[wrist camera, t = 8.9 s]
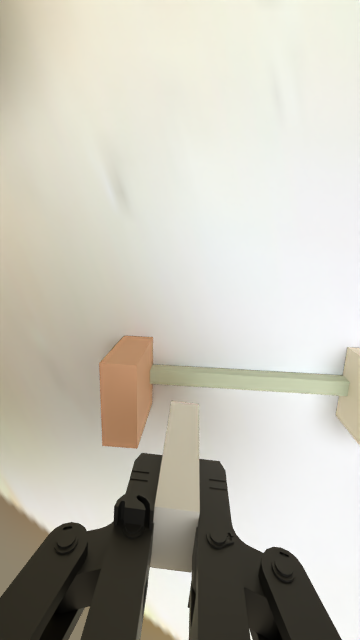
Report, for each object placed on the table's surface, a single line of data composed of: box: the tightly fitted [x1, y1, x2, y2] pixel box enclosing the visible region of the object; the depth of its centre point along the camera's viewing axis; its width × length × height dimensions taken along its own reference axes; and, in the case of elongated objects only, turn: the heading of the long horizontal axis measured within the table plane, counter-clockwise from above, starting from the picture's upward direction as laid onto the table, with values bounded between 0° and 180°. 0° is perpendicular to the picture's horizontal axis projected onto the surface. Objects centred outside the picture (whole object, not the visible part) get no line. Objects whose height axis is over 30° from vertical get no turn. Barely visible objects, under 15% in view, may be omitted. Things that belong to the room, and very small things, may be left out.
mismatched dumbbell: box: [99, 336, 360, 448], centre depth 20 cm, size 24×6×8 cm, turn 88°
